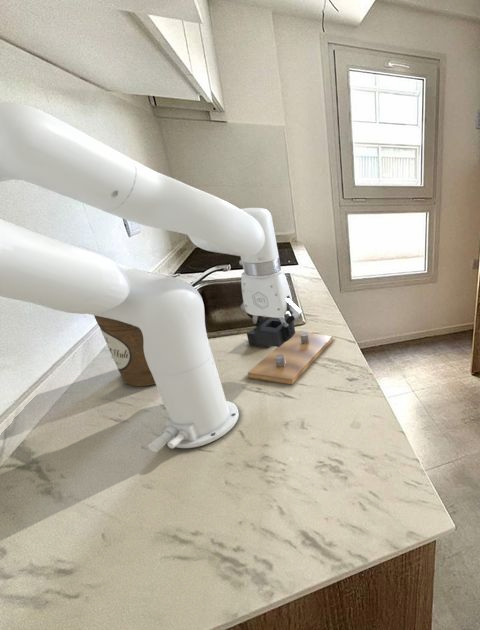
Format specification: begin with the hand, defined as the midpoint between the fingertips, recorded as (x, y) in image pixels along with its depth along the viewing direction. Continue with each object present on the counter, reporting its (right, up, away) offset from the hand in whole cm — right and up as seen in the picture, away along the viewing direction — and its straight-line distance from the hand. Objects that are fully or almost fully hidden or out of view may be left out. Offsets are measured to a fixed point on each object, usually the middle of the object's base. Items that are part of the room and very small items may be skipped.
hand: (276, 336), depth 81 cm
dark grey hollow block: (-10, -2, +17) cm, 20 cm away
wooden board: (+1, -6, +9) cm, 11 cm away
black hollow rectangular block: (0, -1, 0) cm, 1 cm away
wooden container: (-31, -9, +3) cm, 32 cm away
